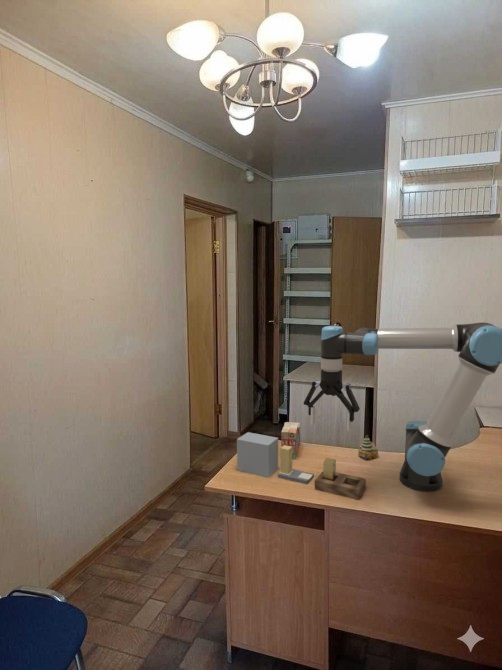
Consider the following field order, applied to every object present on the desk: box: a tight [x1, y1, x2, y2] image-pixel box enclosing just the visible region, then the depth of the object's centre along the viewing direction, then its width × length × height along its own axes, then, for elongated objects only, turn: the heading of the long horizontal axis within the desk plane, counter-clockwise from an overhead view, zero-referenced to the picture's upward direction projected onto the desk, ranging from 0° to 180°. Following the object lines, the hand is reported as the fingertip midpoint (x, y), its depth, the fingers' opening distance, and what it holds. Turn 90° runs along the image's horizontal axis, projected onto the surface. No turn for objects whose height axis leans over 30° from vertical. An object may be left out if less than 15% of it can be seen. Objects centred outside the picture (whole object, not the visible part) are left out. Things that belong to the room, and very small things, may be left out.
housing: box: [236, 431, 279, 478], centre depth 174 cm, size 14×9×13 cm, turn 61°
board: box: [277, 445, 314, 485], centre depth 167 cm, size 12×7×11 cm, turn 61°
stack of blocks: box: [280, 421, 301, 460], centre depth 194 cm, size 21×6×12 cm, turn 168°
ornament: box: [357, 434, 379, 461], centre depth 185 cm, size 8×6×10 cm
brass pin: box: [322, 457, 337, 481], centre depth 160 cm, size 4×4×10 cm
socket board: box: [314, 471, 367, 501], centre depth 158 cm, size 16×10×4 cm, turn 61°
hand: (330, 426), depth 157 cm, fingers open, 13 cm apart
